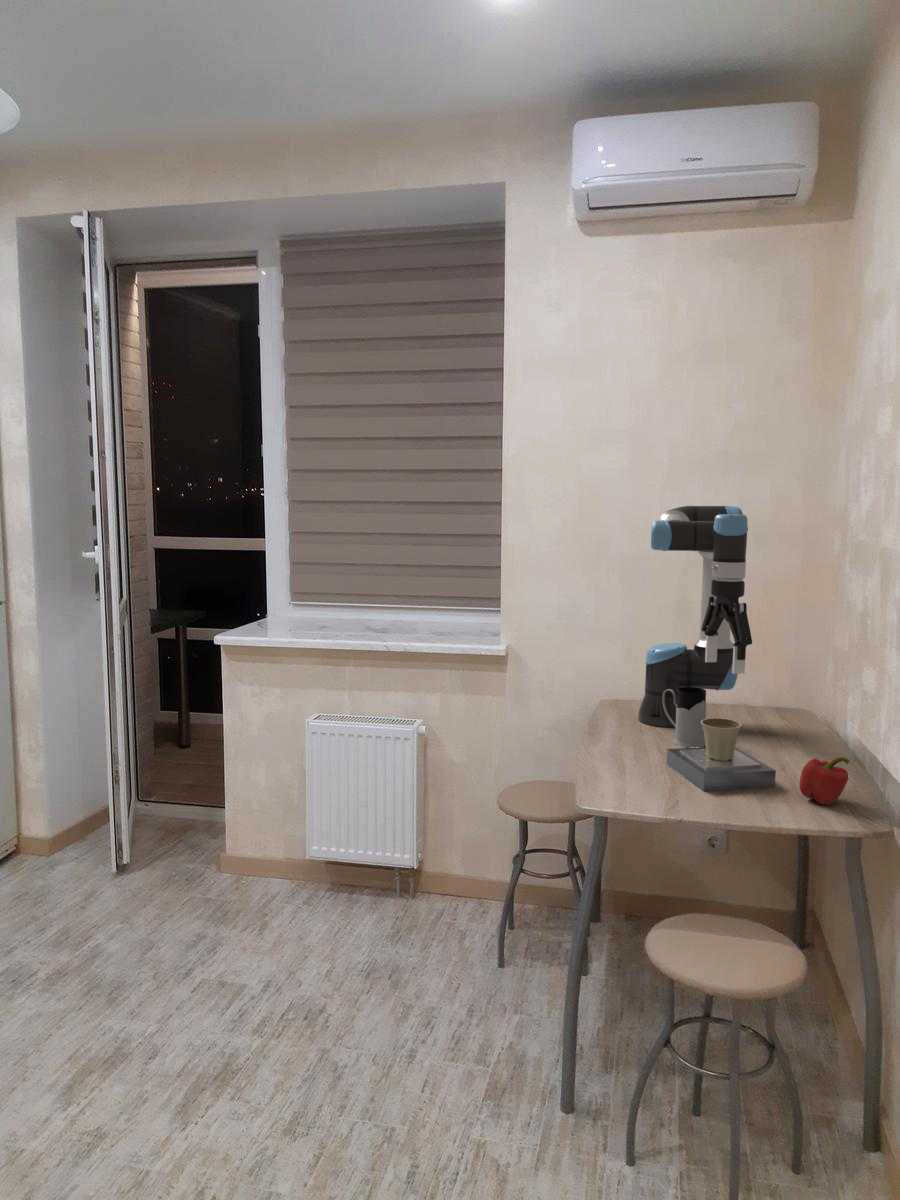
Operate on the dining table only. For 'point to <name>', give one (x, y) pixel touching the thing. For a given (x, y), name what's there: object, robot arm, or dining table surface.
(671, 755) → the gray square platform
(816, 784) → the vegetable
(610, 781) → the dining table surface
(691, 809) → the dining table surface
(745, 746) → the dining table surface
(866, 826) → the dining table surface
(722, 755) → the flower pot
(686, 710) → the grey pitcher
